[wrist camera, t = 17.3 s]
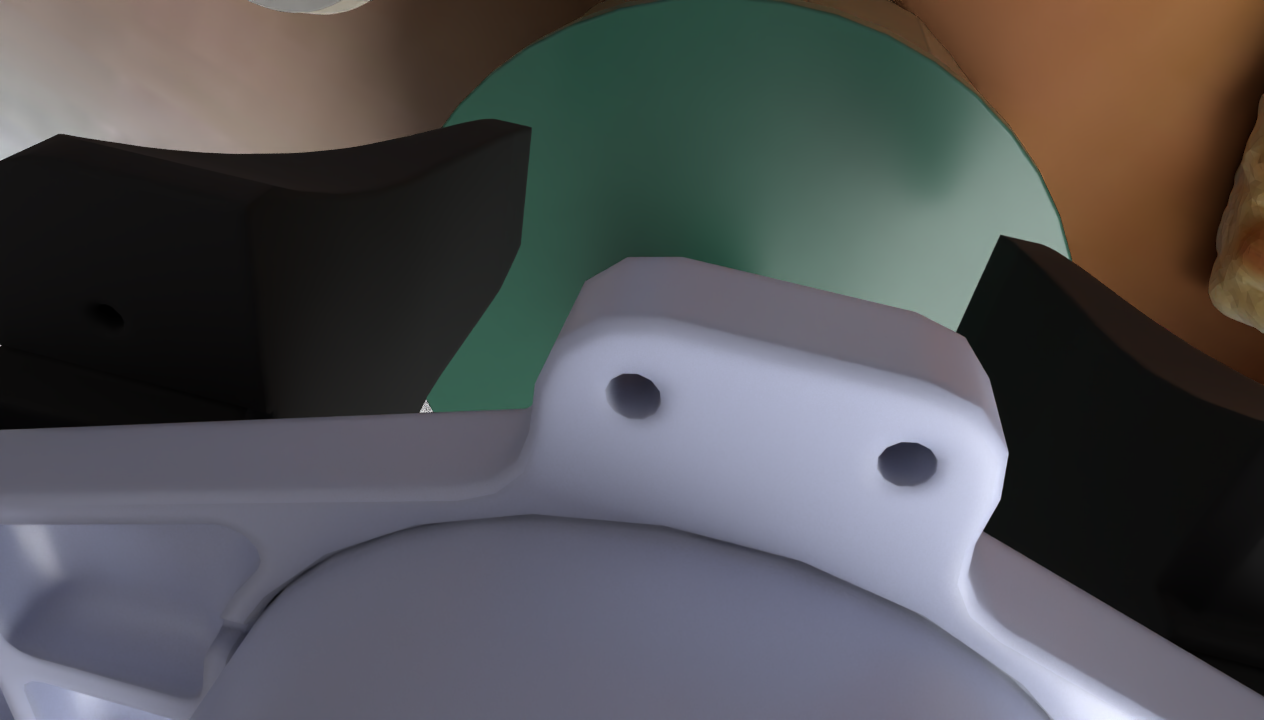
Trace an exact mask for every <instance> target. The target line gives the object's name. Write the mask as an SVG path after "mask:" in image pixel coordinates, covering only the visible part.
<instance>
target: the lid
mask: <svg viewBox="0 0 1264 720" xmlns="http://www.w3.org/2000/svg"><path fill="white" fill-rule="evenodd" d="M479 119H498V120H502V121H507V122H511V123H515V124H520V125H524V126H529V127H532V134H531V144H530V155H529V165H528V175H527V186H526V196H525V207H524V217H523V227H522V238H521V246H520V248H519V250H518V252H517V255H516V257H515V259H514V261H513V264H512V266H511V268H510V270H509V272H508V274H507V276H506V278H505V280H504V283H503V285H502V287H501V289H500V290H499V292H498V293H497V295H496V296H495V298H494V299H493V301H492V302H491V304H490V305H489V307H488V308H487V310H486V311H485V313H484V314H483V315H482V317H481V318H480V320H479V321H478V323H477V324H476V326H475V327H474V328H473V330H472V331H471V333H470V334H469V336H468V337H467V338H466V340H465V341H464V343H463V344H462V346H461V347H460V348H459V350H458V351H457V353H456V354H455V356H454V357H453V358H452V360H451V361H450V363H449V364H448V366H447V367H446V368H445V370H444V371H443V373H442V374H441V376H440V377H439V379H438V380H437V382H436V384H435V385H434V387H433V388H432V390H431V392H430V393H429V395H428V397H427V398H426V400H427V401H428V403H429V405H430V407H431V409H432V410H433V412H456V411H480V410H505V409H526V408H528V407H530V406H532V404H533V396H534V388H535V383H536V380H537V378H538V376H539V374H540V372H541V370H542V368H543V366H544V364H545V362H546V360H547V358H548V356H549V354H550V352H551V350H552V348H553V346H554V344H555V341H556V339H557V337H558V335H559V333H560V331H561V329H562V327H563V325H564V323H565V321H566V319H567V317H568V315H569V313H570V311H571V309H572V307H573V305H574V303H575V301H576V299H577V297H578V295H579V293H580V291H581V289H582V287H583V285H584V282H585V281H587V280H588V279H590V278H592V277H594V276H595V275H597V274H599V273H601V272H602V271H604V270H606V269H608V268H609V267H611V266H613V265H615V264H616V263H618V262H620V261H622V260H623V259H625V258H627V257H685V258H689V259H693V260H698V261H702V262H706V263H710V264H715V265H719V266H723V267H727V268H731V269H736V270H740V271H744V272H748V273H753V274H757V275H761V276H765V277H770V278H774V279H778V280H782V281H786V282H791V283H795V284H799V285H803V286H808V287H812V288H816V289H820V290H824V291H829V292H833V293H837V294H841V295H846V296H850V297H854V298H858V299H863V300H867V301H871V302H875V303H879V304H884V305H888V306H892V307H896V308H901V309H905V310H909V311H913V312H917V313H919V314H921V315H923V316H925V317H927V318H929V319H931V320H932V321H934V322H936V323H938V324H940V325H942V326H944V327H946V328H948V329H950V330H952V331H954V332H956V331H957V329H958V326H959V324H960V322H961V320H962V318H963V315H964V313H965V311H966V309H967V307H968V304H969V302H970V300H971V298H972V296H973V293H974V291H975V289H976V287H977V285H978V282H979V280H980V278H981V276H982V274H983V271H984V269H985V267H986V265H987V263H988V260H989V258H990V256H991V254H992V252H993V249H994V247H995V245H996V243H997V241H998V238H999V236H1000V235H1004V236H1008V237H1013V238H1017V239H1022V240H1026V241H1030V242H1035V243H1039V244H1043V245H1045V246H1047V247H1050V248H1052V249H1053V250H1055V251H1057V252H1059V253H1060V254H1062V255H1063V256H1065V257H1066V258H1068V259H1069V260H1071V261H1072V258H1071V254H1070V250H1069V247H1068V243H1067V239H1066V236H1065V232H1064V228H1063V225H1062V221H1061V217H1060V214H1059V212H1058V210H1057V208H1056V206H1055V204H1054V201H1053V199H1052V197H1051V195H1050V193H1049V191H1048V188H1047V186H1046V184H1045V182H1044V180H1043V178H1042V175H1041V173H1040V171H1039V169H1038V168H1037V166H1036V164H1035V163H1034V161H1033V160H1032V158H1031V157H1030V155H1029V154H1028V152H1027V151H1026V149H1025V148H1024V146H1023V145H1022V143H1021V142H1020V140H1019V139H1018V137H1017V136H1016V134H1015V133H1014V131H1013V130H1012V128H1011V127H1010V126H1009V124H1008V123H1007V122H1006V121H1005V120H1004V119H1003V118H1002V117H1001V116H1000V115H999V114H998V112H997V111H996V110H995V109H994V108H993V107H992V106H991V105H990V104H989V103H988V102H987V101H986V100H985V99H984V97H983V96H982V95H981V94H980V93H979V92H978V91H977V90H976V89H975V88H974V87H973V86H972V85H970V84H969V83H968V82H966V81H965V80H964V79H963V78H961V77H960V76H959V75H958V74H956V73H955V72H954V71H953V70H951V69H950V68H949V67H947V66H946V65H945V64H944V63H942V62H941V61H940V60H939V59H937V58H936V57H935V56H934V55H932V54H930V53H928V52H927V51H925V50H923V49H921V48H920V47H918V46H916V45H914V44H913V43H911V42H909V41H907V40H906V39H904V38H902V37H900V36H899V35H897V34H895V33H893V32H892V31H890V30H888V29H886V28H884V27H881V26H878V25H876V24H873V23H871V22H868V21H866V20H863V19H861V18H858V17H856V16H853V15H851V14H848V13H846V12H843V11H841V10H838V9H835V8H831V7H827V6H822V5H818V4H814V3H810V2H806V1H802V0H637V1H632V2H626V3H623V4H620V5H617V6H614V7H611V8H608V9H605V10H602V11H599V12H596V13H593V14H590V15H587V16H584V17H582V18H579V19H576V20H574V21H572V22H570V23H568V24H566V25H564V26H562V27H561V28H559V29H557V30H555V31H553V32H551V33H549V34H547V35H545V36H543V37H541V38H539V39H537V40H535V41H534V42H532V43H531V44H529V45H528V46H527V47H525V48H524V49H522V50H521V51H520V52H518V53H517V54H515V55H514V56H513V57H511V58H510V59H508V60H507V61H506V62H504V63H503V64H502V65H500V66H499V67H497V68H496V69H495V70H494V71H493V72H491V73H490V74H489V75H488V76H487V77H486V78H485V79H484V80H483V81H482V82H481V83H480V84H479V85H478V86H477V87H476V88H475V89H474V90H473V91H472V92H471V93H470V94H469V95H468V96H467V97H466V98H465V99H464V100H463V101H462V102H461V103H460V104H459V105H458V106H457V107H456V109H455V110H454V111H453V113H452V114H451V115H450V117H449V118H448V120H447V121H446V122H445V124H444V125H443V126H442V128H444V127H448V126H452V125H456V124H460V123H464V122H469V121H474V120H479Z"/></svg>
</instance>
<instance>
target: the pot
mask: <svg viewBox="0 0 1264 720" xmlns="http://www.w3.org/2000/svg"><path fill="white" fill-rule="evenodd" d="M632 1H637V0H606V1H604V2H601V3H599V4H597V5H595V6H594V7H592V8H591V9H590V10H589V11H587V12H586V13H585V14H584V15H583V16H582V17H584V16H587V15H590V14H593V13H596V12H599V11H602V10H605V9H608V8H611V7H614V6H617V5H620V4H623V3H626V2H632ZM802 1H806V2H810V3H814V4H818V5H822V6H827V7H831V8H835V9H838V10H841V11H843V12H846V13H848V14H851V15H853V16H856V17H858V18H861V19H863V20H866V21H868V22H871V23H873V24H876V25H878V26H881V27H884V28H886V29H888V30H890V31H892V32H893V33H895V34H897V35H899V36H900V37H902V38H904V39H906V40H907V41H909V42H911V43H913V44H914V45H916V46H918V47H920V48H921V49H923V50H925V51H927V52H928V53H930V54H932V55H934V56H935V57H936V58H937V59H939V60H940V61H941V62H942V63H944V64H945V65H946V66H947V67H949V68H950V69H951V70H953V71H954V72H955V73H956V74H958V75H959V76H960V77H961V78H963V79H964V80H965V81H966V82H968V83H969V84H970V85H972V86H973V84H972V83H971V82H970V81H969V79H968V78H967V77H966V76H965V74H964V73H963V72H962V71H961V69H960V68H959V66H958V65H957V63H956V62H955V60H954V59H953V57H952V56H951V54H950V53H949V52H948V51H947V50H946V49H945V48H944V47H943V46H942V45H941V43H940V42H939V41H938V40H937V39H936V38H935V37H934V36H933V34H932V33H931V32H930V31H929V29H928V28H927V27H926V26H925V24H924V23H923V22H922V21H921V19H920V18H919V17H916V16H915V15H914V14H913V13H911V12H909V11H907V10H905V9H902V8H900V7H899V6H898V5H897V4H895V3H893V2H891V1H890V0H802ZM582 17H581V18H582ZM973 87H974V86H973ZM974 88H975V87H974ZM975 89H976V88H975ZM976 90H977V89H976Z"/></svg>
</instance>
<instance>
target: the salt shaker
mask: <svg viewBox="0 0 1264 720" xmlns="http://www.w3.org/2000/svg"><path fill="white" fill-rule="evenodd" d="M248 1H250V2H252V3H255V4H257V5H260V6H262V7H265V8H268V9H272V10H276V11H280V12H289V13H306V14H316V15H328V14H337V13H342V12H347V11H350V10H352V9H355V8H358V7H360V6H362V5H364V4H367V3H369V2H371V1H373V0H248Z"/></svg>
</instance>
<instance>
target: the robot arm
mask: <svg viewBox="0 0 1264 720" xmlns="http://www.w3.org/2000/svg"><path fill="white" fill-rule="evenodd" d="M531 134H532V127H529V126H524V125H520V124H515V123H511V122H507V121H502V120H498V119H479V120H474V121H469V122H464V123H460V124H456V125H452V126H448V127H444V128H440V129H436V130H432V131H428V132H423V133H419V134H415V135H411V136H407V137H402V138H397V139H392V140H387V141H382V142H378V143H373V144H368V145H363V146H357V147H351V148H343V149H336V150H326V151H316V152H305V153H280V154H221V153H202V152H189V151H177V150H166V149H157V148H148V147H141V146H134V145H127V144H121V143H114V142H108V141H101V140H94V139H88V138H81V137H76V136H71V135H65V134H58V135H55V136H53V137H51V138H49V139H47V140H45V141H42V142H40V143H38V144H36V145H34V146H32V147H29V148H27V149H25V150H23V151H21V152H18V153H16V154H14V155H12V156H10V157H8V158H5V159H3V160H1V161H0V345H2V346H0V720H1264V385H1262V384H1260V383H1258V382H1256V381H1254V380H1252V379H1250V378H1248V377H1246V376H1244V375H1242V374H1241V373H1239V372H1237V371H1235V370H1233V369H1232V368H1230V367H1228V366H1226V365H1224V364H1223V363H1221V362H1219V361H1217V360H1215V359H1214V358H1212V357H1210V356H1208V355H1206V354H1205V353H1203V352H1201V351H1200V350H1198V349H1196V348H1195V347H1193V346H1191V345H1190V344H1188V343H1187V342H1185V341H1183V340H1182V339H1180V338H1179V337H1177V336H1176V335H1174V334H1173V333H1171V332H1170V331H1168V330H1167V329H1165V328H1164V327H1162V326H1161V325H1159V324H1158V323H1156V322H1155V321H1153V320H1152V319H1150V318H1149V317H1148V316H1146V315H1145V314H1143V313H1142V312H1141V311H1139V310H1138V309H1136V308H1135V307H1134V306H1132V305H1131V304H1129V303H1128V302H1127V301H1125V300H1124V299H1123V298H1121V297H1120V296H1118V295H1117V294H1116V293H1114V292H1113V291H1112V290H1110V289H1109V288H1108V287H1106V286H1105V285H1104V284H1102V283H1101V282H1100V281H1098V280H1097V279H1096V278H1094V277H1093V276H1092V275H1090V274H1089V273H1088V272H1086V271H1085V270H1083V269H1082V268H1081V267H1079V266H1078V265H1077V264H1075V263H1074V262H1072V261H1071V260H1069V259H1068V258H1066V257H1065V256H1063V255H1062V254H1060V253H1059V252H1057V251H1055V250H1053V249H1052V248H1050V247H1047V246H1045V245H1043V244H1039V243H1035V242H1030V241H1026V240H1022V239H1017V238H1013V237H1008V236H1004V235H1000V236H999V238H998V241H997V243H996V245H995V247H994V249H993V252H992V254H991V256H990V258H989V260H988V263H987V265H986V267H985V269H984V271H983V274H982V276H981V278H980V280H979V282H978V285H977V287H976V289H975V291H974V293H973V296H972V298H971V300H970V302H969V304H968V307H967V309H966V311H965V313H964V315H963V318H962V320H961V322H960V324H959V326H958V329H957V331H956V332H954V331H952V330H950V329H948V328H946V327H944V326H942V325H940V324H938V323H936V322H934V321H932V320H931V319H929V318H927V317H925V316H923V315H921V314H919V313H917V312H913V311H909V310H905V309H901V308H896V307H892V306H888V305H884V304H879V303H875V302H871V301H867V300H863V299H858V298H854V297H850V296H846V295H841V294H837V293H833V292H829V291H824V290H820V289H816V288H812V287H808V286H803V285H799V284H795V283H791V282H786V281H782V280H778V279H774V278H770V277H765V276H761V275H757V274H753V273H748V272H744V271H740V270H736V269H731V268H727V267H723V266H719V265H715V264H710V263H706V262H702V261H698V260H693V259H689V258H685V257H627V258H625V259H623V260H622V261H620V262H618V263H616V264H615V265H613V266H611V267H609V268H608V269H606V270H604V271H602V272H601V273H599V274H597V275H595V276H594V277H592V278H590V279H588V280H587V281H585V282H584V285H583V287H582V289H581V291H580V293H579V295H578V297H577V299H576V301H575V303H574V305H573V307H572V309H571V311H570V313H569V315H568V317H567V319H566V321H565V323H564V325H563V327H562V329H561V331H560V333H559V335H558V337H557V339H556V341H555V344H554V346H553V348H552V350H551V352H550V354H549V356H548V358H547V360H546V362H545V364H544V366H543V368H542V370H541V372H540V374H539V376H538V378H537V380H536V383H535V388H534V396H533V404H532V406H530V407H528V408H526V409H505V410H480V411H456V412H431V413H419V412H420V410H421V408H422V406H423V404H424V402H425V400H426V398H427V397H428V395H429V393H430V392H431V390H432V388H433V387H434V385H435V384H436V382H437V380H438V379H439V377H440V376H441V374H442V373H443V371H444V370H445V368H446V367H447V366H448V364H449V363H450V361H451V360H452V358H453V357H454V356H455V354H456V353H457V351H458V350H459V348H460V347H461V346H462V344H463V343H464V341H465V340H466V338H467V337H468V336H469V334H470V333H471V331H472V330H473V328H474V327H475V326H476V324H477V323H478V321H479V320H480V318H481V317H482V315H483V314H484V313H485V311H486V310H487V308H488V307H489V305H490V304H491V302H492V301H493V299H494V298H495V296H496V295H497V293H498V292H499V290H500V289H501V287H502V285H503V283H504V280H505V278H506V276H507V274H508V272H509V270H510V268H511V266H512V264H513V261H514V259H515V257H516V255H517V252H518V250H519V248H520V246H521V238H522V227H523V217H524V207H525V196H526V186H527V175H528V165H529V155H530V144H531Z"/></svg>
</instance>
